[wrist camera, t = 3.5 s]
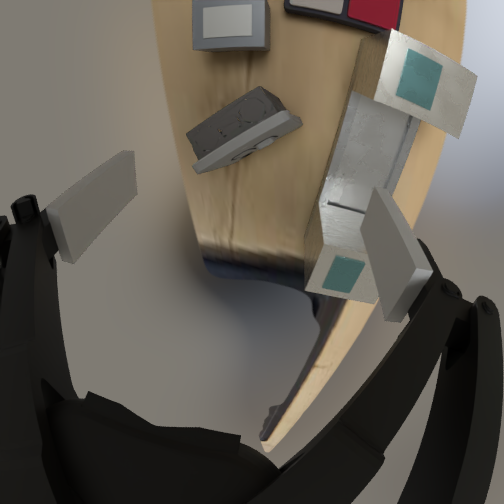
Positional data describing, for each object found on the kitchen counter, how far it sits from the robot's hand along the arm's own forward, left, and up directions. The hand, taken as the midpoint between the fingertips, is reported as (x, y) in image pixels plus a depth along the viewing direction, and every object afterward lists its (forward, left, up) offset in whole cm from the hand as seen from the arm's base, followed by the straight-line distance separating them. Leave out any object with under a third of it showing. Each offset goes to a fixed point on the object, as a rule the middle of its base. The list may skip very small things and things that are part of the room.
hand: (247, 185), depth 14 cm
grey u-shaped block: (+11, -1, -17) cm, 20 cm away
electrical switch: (-2, -1, -17) cm, 17 cm away
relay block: (-5, +10, -17) cm, 20 cm away
